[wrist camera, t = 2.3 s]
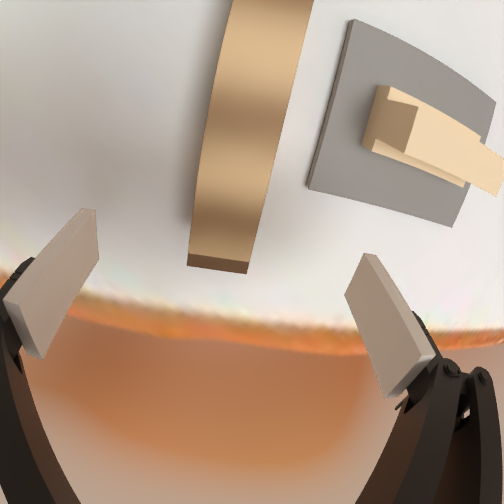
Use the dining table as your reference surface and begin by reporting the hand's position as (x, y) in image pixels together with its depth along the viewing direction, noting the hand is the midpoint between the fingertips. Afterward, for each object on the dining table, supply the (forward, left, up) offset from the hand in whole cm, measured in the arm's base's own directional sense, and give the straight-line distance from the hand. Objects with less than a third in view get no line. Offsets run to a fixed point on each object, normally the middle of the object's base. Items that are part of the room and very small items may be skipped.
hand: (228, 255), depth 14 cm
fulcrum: (-8, +14, -10) cm, 19 cm away
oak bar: (-6, 0, -10) cm, 12 cm away
